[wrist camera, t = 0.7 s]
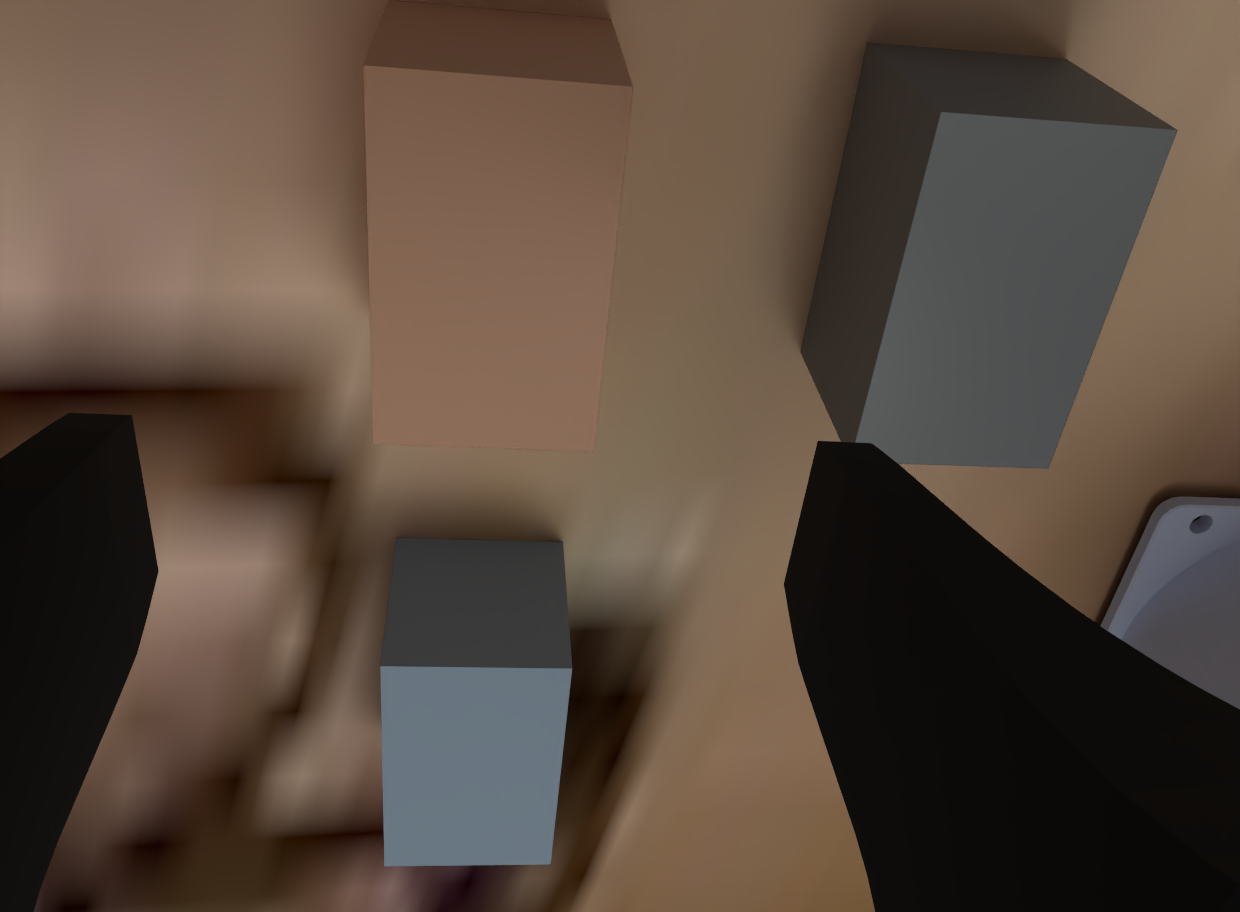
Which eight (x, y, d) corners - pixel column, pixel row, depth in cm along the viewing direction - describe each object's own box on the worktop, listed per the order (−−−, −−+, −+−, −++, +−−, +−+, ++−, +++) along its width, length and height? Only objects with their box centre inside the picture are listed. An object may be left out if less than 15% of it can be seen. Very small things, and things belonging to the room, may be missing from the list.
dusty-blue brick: (562, 538, 24) (571, 668, 21) (544, 726, 28) (550, 864, 24) (397, 533, 24) (380, 666, 21) (398, 725, 27) (384, 866, 24)
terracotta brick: (610, 17, 18) (633, 86, 15) (580, 337, 22) (594, 452, 18) (390, -2, 18) (363, 65, 15) (394, 328, 21) (373, 443, 18)
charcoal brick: (1063, 57, 19) (1177, 130, 16) (969, 357, 23) (1048, 468, 19) (864, 40, 19) (941, 111, 16) (799, 349, 22) (850, 461, 19)
